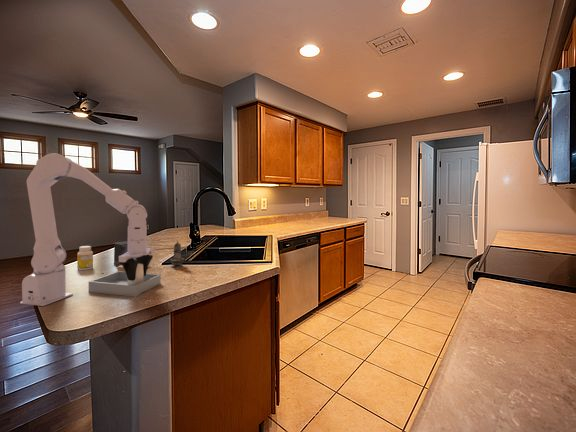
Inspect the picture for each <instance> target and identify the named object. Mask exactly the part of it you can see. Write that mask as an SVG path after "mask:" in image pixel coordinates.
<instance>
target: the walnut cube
mask: <svg viewBox="0 0 576 432" xmlns="http://www.w3.org/2000/svg"><path fill="white" fill-rule="evenodd" d="M116 270H117V271H116V272H118V271H124V272H125V269H124V268H123V266H122V265H121V266H117V269H116Z"/></svg>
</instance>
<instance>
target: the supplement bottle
mask: <svg viewBox="0 0 576 432" xmlns="http://www.w3.org/2000/svg"><path fill="white" fill-rule="evenodd" d="M78 249H79V251H78V252H77V254H76V255H77V258H76V259H77V260H76V261H77V262H76V263H77V267H76V268H77V270H79V271H87V270H92V269H93V268H94V252H93V251H92V246H91V245H81V246H79V248H78Z"/></svg>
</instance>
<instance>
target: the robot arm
mask: <svg viewBox="0 0 576 432" xmlns="http://www.w3.org/2000/svg"><path fill="white" fill-rule="evenodd" d="M67 177H68V178H69V177H70V178H74V179H78V180H80V181H82V182H84V183H85V184H87V185H89V186H90V188H93V189H94V190H95V191H98V192H99V193H100V194H101V195H103V196H104V197H105V202H106V204H109V205H110V206H111V207H113V208H114V209H116V210H117V211H118V212H119V213H121V214H122V215H124V214H125V215H126V216H127V219H128V225H127V241H128V252H127V253H125V254H123V255H121V256H119V262H120V263H121V265H122V266H123V268H124V269H125V272H126V275H127V278H128V280H131V281H134V280H135V277H136V269H137V265H138V263H143V270H144V276H145V275H146V273H148V272H147V271H148V268H149V265H150V263H151V261H152V260H153V254H154V248H153V247H147V233H148V232H147V228H148V227H147V220H146V219H147V218H148V212H147V210H146V208H145V206H143V205H142V204H139V201H138V200H134V199H133V198H132V197H131V196H129V195H128V194H127V193H128V192H127V191H126V190H124V189H123V190H121V189H120V188H112V187H110V186H109V185H108V184H107V183H105V182H104V181H103V180H101V179H100V178H99V177H98V176H96V175H95V174H94V173H93V172H91V171H90V170H88V169H87V168H86V167H84V166H83V165H80V164H78V163H77V162H74V161H72V160H71V159H70V158H68V157H66V156H65V155H64V156H63V155H62V154H59V153H54V152H53V153H48V154H45V155H44V156H43V157H40V158H39V159H38V160H36V163H35V166H34V167H33V169H32V170H31V172H30V174H29V176H28V177H27V179H26V186H27V194H28V200H29V207H30V213H31V221H32V226H33V231H34V232H33V233H34V238H35V242H34V246H33V248H32V250H33V256H32V258H31V261H30V265H31V267H32V269H33V272H32V273H31V274H30V275H27V276H25V277H24V278H23V279H22V282H21V295H22V296H21V298H22V300H21V301H20V302H19V304H21V305H30V306H39V307H44V306H47V305H50V304H52V303H54V302H57V301H60V300H63V299H65V298H68V297H71V296H73V295H74V293H73V292H66V291H67V289H66V288H67V287H66V284H67V283H66V266H65V265H64V264H63V263H64V262H65V261H66V258H67V252H66V250H65V249H64V248H63V246H62V241H61V240H60V238H59V235H58V230H57V228H58V227H57V223H56V216H55V209H54V201H53V196H52V190H51V187H52V186H54V185H55V184H56V183H58V182H59V180H62V179H64V178H67ZM134 258H136V260H137V261H135V260H134Z"/></svg>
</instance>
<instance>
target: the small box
mask: <svg viewBox="0 0 576 432" xmlns="http://www.w3.org/2000/svg"><path fill="white" fill-rule="evenodd" d="M113 244H114V249H113V265H114V266H117V267H118V266H121V263H120V262H119V256H121V255H123V254H125V253H127V252H128V240H127V241H117V242H116V241H115V242H113ZM134 260H135V261H137V260H136V258H134Z"/></svg>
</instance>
